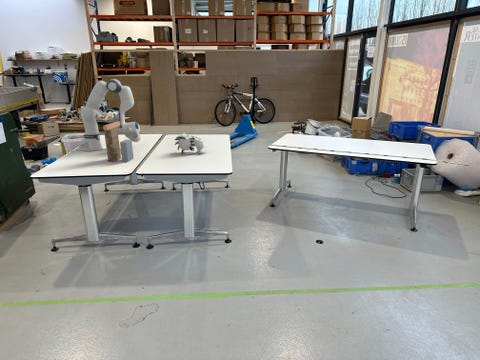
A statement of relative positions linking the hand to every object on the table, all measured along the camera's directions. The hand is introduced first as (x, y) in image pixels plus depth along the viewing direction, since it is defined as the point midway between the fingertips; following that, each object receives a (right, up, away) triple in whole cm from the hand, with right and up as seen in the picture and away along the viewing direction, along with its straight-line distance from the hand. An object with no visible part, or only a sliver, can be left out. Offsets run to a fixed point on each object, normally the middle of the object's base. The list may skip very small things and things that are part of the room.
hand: (122, 128), depth 284 cm
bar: (-2, -2, -18) cm, 18 cm away
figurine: (+58, -20, +10) cm, 62 cm away
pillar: (-3, -28, -12) cm, 30 cm away
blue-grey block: (+9, -28, -13) cm, 32 cm away
